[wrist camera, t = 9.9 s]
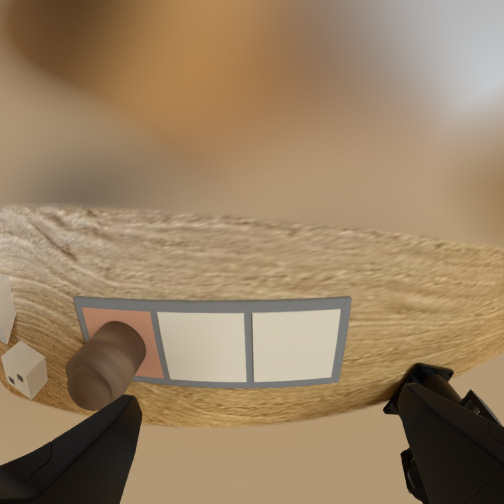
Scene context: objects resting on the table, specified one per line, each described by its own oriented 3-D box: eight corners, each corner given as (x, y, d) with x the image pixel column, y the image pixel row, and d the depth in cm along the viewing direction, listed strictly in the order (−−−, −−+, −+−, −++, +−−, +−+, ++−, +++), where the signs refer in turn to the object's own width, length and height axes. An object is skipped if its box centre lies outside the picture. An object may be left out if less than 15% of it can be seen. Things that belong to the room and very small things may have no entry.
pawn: (149, 333, 20) (110, 396, 12) (142, 373, 21) (109, 435, 13) (101, 312, 19) (49, 362, 12) (98, 353, 20) (55, 405, 13)
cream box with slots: (45, 356, 22) (25, 376, 18) (48, 380, 22) (31, 400, 19) (21, 339, 21) (0, 357, 17) (24, 364, 22) (7, 382, 18)
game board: (349, 296, 19) (351, 298, 19) (337, 379, 21) (338, 383, 21) (75, 296, 20) (72, 298, 19) (98, 372, 22) (96, 375, 21)
